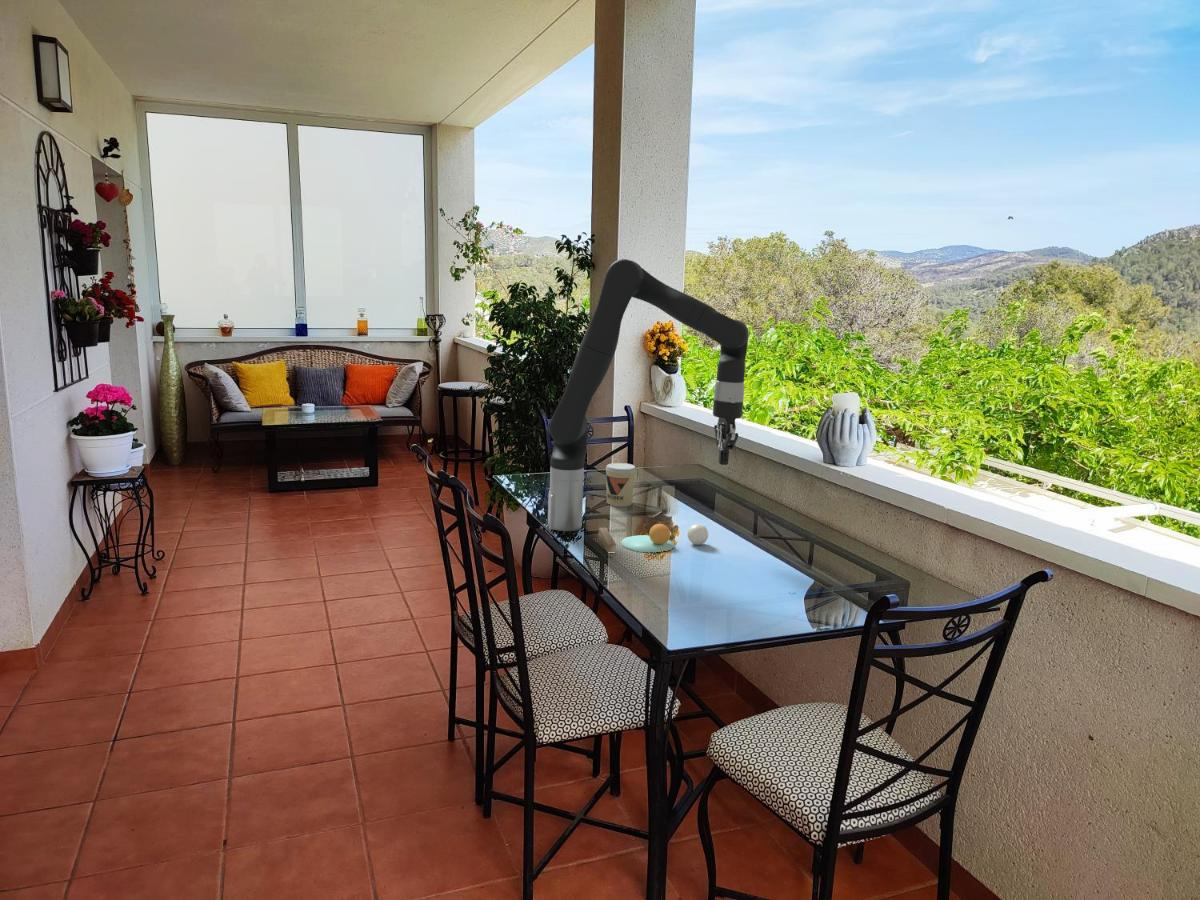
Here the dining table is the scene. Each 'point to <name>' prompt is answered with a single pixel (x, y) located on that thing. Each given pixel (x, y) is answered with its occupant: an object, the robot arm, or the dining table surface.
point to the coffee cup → (620, 483)
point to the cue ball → (697, 534)
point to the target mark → (645, 544)
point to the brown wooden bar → (607, 540)
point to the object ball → (659, 534)
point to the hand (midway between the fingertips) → (723, 464)
